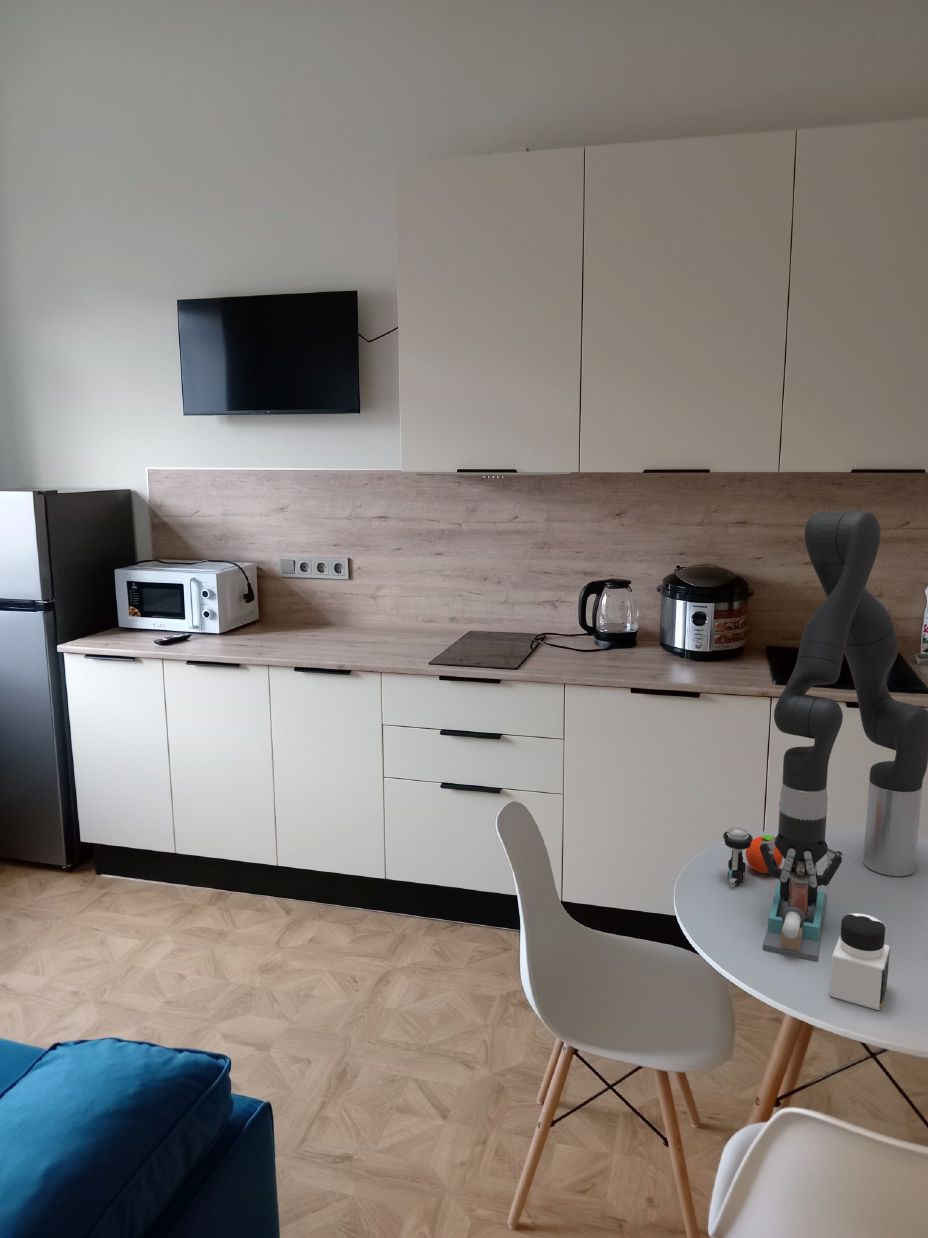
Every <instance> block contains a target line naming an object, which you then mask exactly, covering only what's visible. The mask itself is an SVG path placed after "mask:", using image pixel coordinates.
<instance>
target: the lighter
mask: <svg viewBox="0 0 928 1238" xmlns="http://www.w3.org/2000/svg"><path fill="white" fill-rule="evenodd" d="M809 882H810V875H808V874H807V868H806V867H805V865H804V862H802V861H797V865H792V866H791V869H790V873H789V892H790V894H789V901H788V907H789V906H795V907H798V908H800V909H801V910H802V911H803V912H804V914H805V922H806V921H807V918H808V909H809V908H808V906H807V902H808V885H809Z"/></svg>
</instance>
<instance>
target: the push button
mask: <svg viewBox="0 0 928 1238" xmlns="http://www.w3.org/2000/svg"><path fill="white" fill-rule="evenodd" d="M722 837H723V838H722V839H724V845H725V846H726V847H728V848H729V849H731V857H730V859H729V860H728V864H727V865H728V871H727V879H728V884H729V887H730V888H735V886H736V887H737V886H739V885H740V883H741V881H742V882H743V883H744V882H745V879H746V869H747V868H746V867H747V865H746V862H744V856H743V851H746V848H749V847H750V846H751V842H752V840H753V839H754V838H753V836H752V834H750V833H748V831H747V830H746V829H745V828H742V827H731V828H729V829H728V831H725V832H723V835H722Z"/></svg>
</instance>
